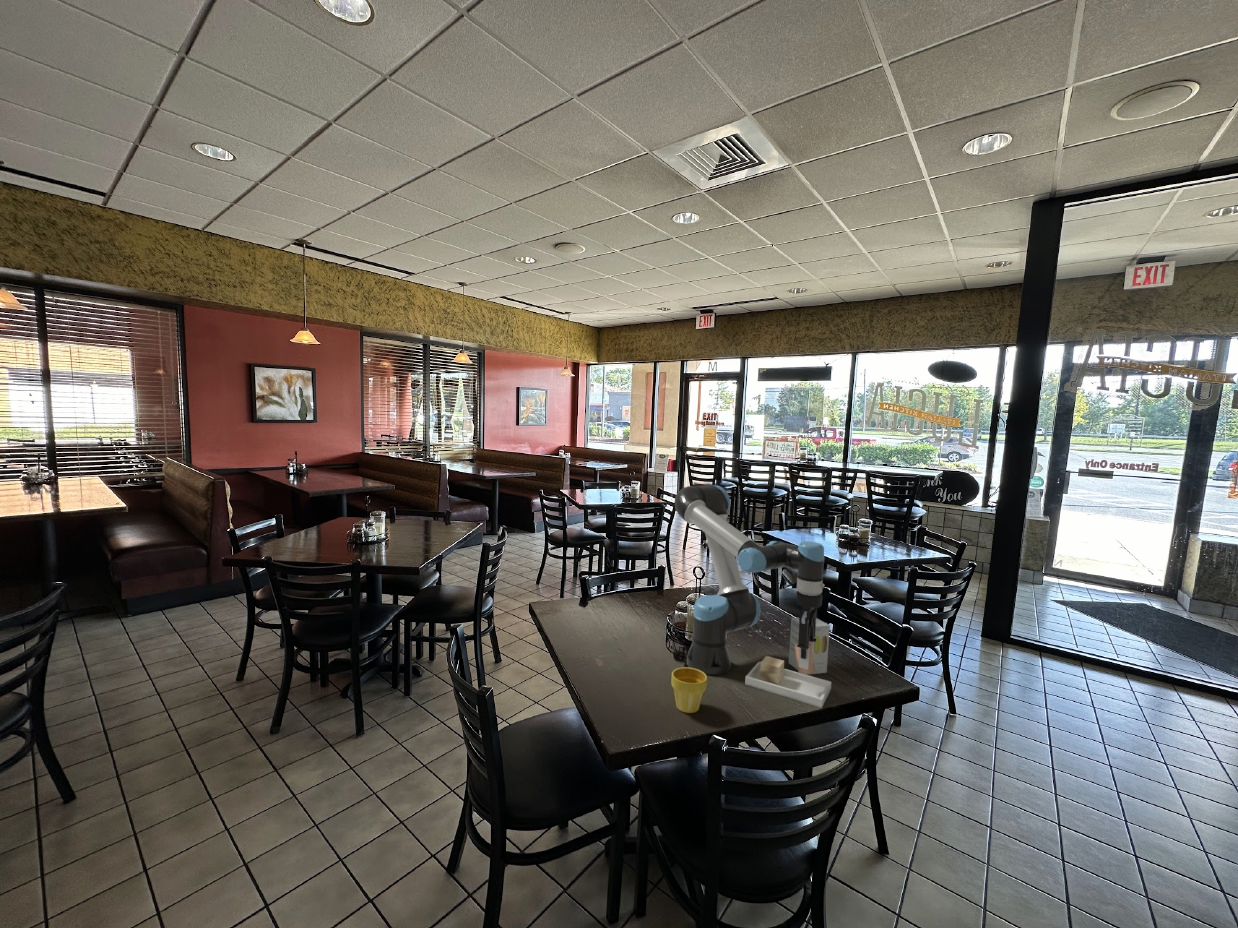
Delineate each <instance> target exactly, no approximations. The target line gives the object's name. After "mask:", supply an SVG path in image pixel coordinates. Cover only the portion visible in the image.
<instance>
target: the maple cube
mask: <svg viewBox="0 0 1238 928" xmlns="http://www.w3.org/2000/svg"><path fill="white" fill-rule="evenodd" d="M760 662H761V664H760V680H762V681H765V682H768V683H772V684H775V685H779V684H780V682H781V681H782V680H783V676H784V669H785V660H784V659H783V660H782V659H779V658H776V657H772V656H768V655H765V657H764V658H763V659H762V660H761V661H760Z"/></svg>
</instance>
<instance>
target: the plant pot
mask: <svg viewBox="0 0 1238 928" xmlns="http://www.w3.org/2000/svg"><path fill="white" fill-rule="evenodd" d="M670 677H671V682H670V683H671V686H672V688H673V692H674V698H675V705H676V709H678V710H679V711H681V712H682V713H686V714H694V713H697V712H698V711H699V710H700V706H701V702H702V699H703V694H704V692H705V691H706V690H707V685H708V676H707V674H705V673H704V672H702V671H700V670H698V669H695V668H690V667H689V666H688V667H684V666H683V667H677V668H676V669H674V670H673V671H672V672H671V676H670Z"/></svg>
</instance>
